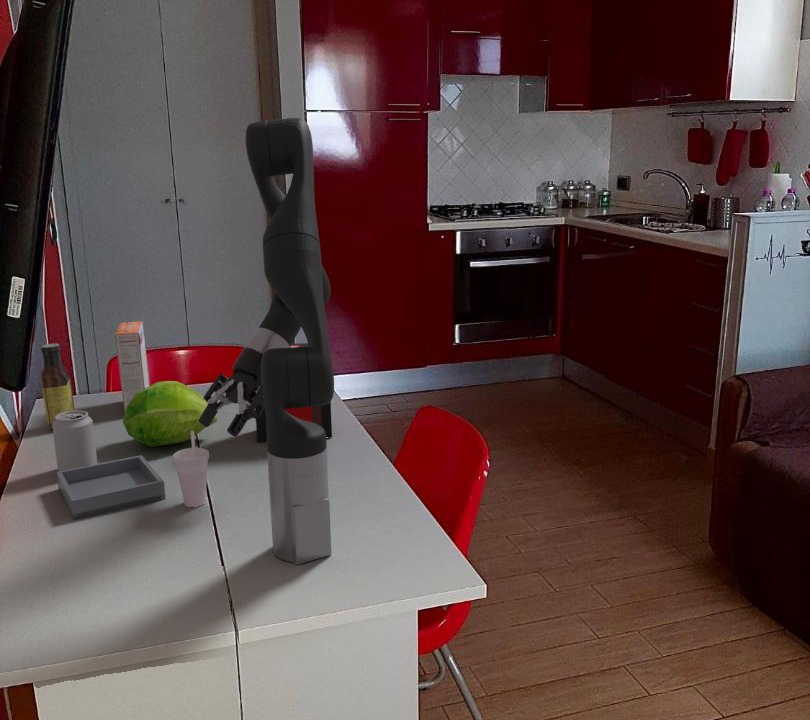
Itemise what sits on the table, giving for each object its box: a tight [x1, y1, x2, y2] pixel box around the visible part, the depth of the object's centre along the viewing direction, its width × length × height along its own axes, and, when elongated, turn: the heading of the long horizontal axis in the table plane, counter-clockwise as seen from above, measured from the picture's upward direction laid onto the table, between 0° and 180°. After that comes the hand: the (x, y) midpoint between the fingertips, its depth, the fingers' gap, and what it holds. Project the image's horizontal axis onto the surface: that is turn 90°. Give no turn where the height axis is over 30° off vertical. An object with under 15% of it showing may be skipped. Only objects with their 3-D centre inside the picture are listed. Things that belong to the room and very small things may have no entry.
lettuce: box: [122, 380, 219, 448], centre depth 178 cm, size 15×20×14 cm
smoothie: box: [172, 430, 211, 508], centre depth 146 cm, size 6×6×14 cm
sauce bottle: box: [40, 343, 76, 430], centre depth 188 cm, size 7×6×20 cm
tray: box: [56, 454, 166, 520], centre depth 152 cm, size 16×16×4 cm
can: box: [52, 410, 98, 472], centre depth 163 cm, size 8×8×12 cm
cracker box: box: [114, 320, 151, 414], centre depth 203 cm, size 14×6×21 cm, turn 14°
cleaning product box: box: [254, 342, 333, 444], centre depth 182 cm, size 16×9×20 cm, turn 99°
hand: (216, 429), depth 149 cm, fingers open, 8 cm apart
